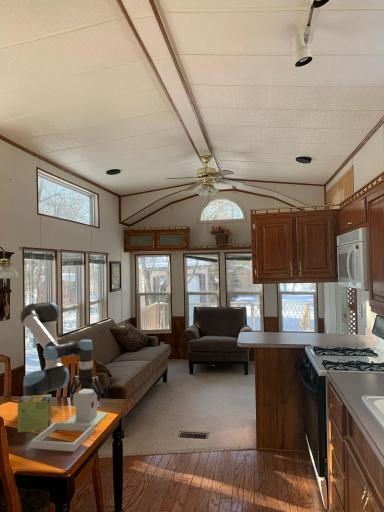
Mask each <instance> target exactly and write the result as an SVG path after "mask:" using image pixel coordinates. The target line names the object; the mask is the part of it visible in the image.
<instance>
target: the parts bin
mask: <svg viewBox="0 0 384 512" xmlns="http://www.w3.org/2000/svg"><path fill="white" fill-rule="evenodd" d="M95 428H96V427H95V425H94V424H79V423H65V422H61V421H55V422H54V423H53V424H52V423H51V425H50V427H48V428H47V429H46V430H42V432H41V433H40V434H38V435H37V436H35V437H34V438H32V440H30V444H31V445H30V448H31V449H35V450H36V449H37V450H38V449H39V450H50V451H60V452H61V451H62V452H73V453H74V452H76V450H78V449H79V447H80V446H82V444H83V443H84V442H86V440H88V438H90V437H91V436H92V435H93V434H94V432H95ZM56 431H72V432H82V434H81V435H80V436H79V437H77V439H76V440H75V441H74V442H66V441H52V440H45V439H47V438H48V437H49V436H51V433H52V434H53V433H54V432H56ZM46 437H47V438H46ZM42 440H43V441H42Z"/></svg>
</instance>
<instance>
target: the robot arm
mask: <svg viewBox="0 0 384 512" xmlns="http://www.w3.org/2000/svg"><path fill="white" fill-rule="evenodd" d="M60 315H61V312H60V308H59V306H58V305H57V304H56V303H55V302H52V301H50V302H49V301H48V302H38V303H29V304H26V306H24V307H23V308H22V310H21V312H20V316H19V319H20V322H21V324H22V325H23V327H25V328H27V329H28V330H29V331H30V332H31V334H32V335H33V337H34V338H35V339H36V341H37V342H38V343H39V344H40V346H41V347H42V348H43V350H42V351H43V352H42V356H43V358H44V360H45V367H44V369H43V370H42V369H40V370H34V371H31V372H28V373H27V374H25V376H23V385H22V386H23V396H35V395H46V393H48V392H52V391H56V390H60V389H63V388H65V387H67V386H68V384H69V381H70V371H69V369H68V368H67V367H65V364H63V363H62V362H61V359H62V358H68V357H73V356H77V357H78V375H79V376H78V375H75V376H73V380H72V383H71V384H70V387H69V389H68V391H67V393H68V394H71V401H72V406H73V407H76V393H77V391H78V390H79V388H80V387H81V386H89V387H90V389H93V390H94V392H95V393H96V394H97V395H96V408H97V409H98V407H100V401H101V395H103V394H104V393H105V392H104V389H103V387H102V384H101V382H100V380H99V376H95V377H94V376H93V374H94V370H93V369H94V368H93V365H94V363H93V359H94V358H93V357H94V356H93V353H94V346H93V341H92V340H91V339H86V338H85V339H80V340H79V341H76V340H69V341H68V342H66V343H58V335H57V328H56V324H57V322H58V319H59V318H60ZM77 381H79V382H78V383H77ZM76 383H77V385H76Z"/></svg>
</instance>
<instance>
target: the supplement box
mask: <svg viewBox="0 0 384 512" xmlns="http://www.w3.org/2000/svg"><path fill="white" fill-rule="evenodd" d="M75 393H76V405H75V414H76V421H88V422H90V421H91V420H93V419H94V418H95V417H96V416H97V412H98V407H97V408H96V395H97V394H96V393H95V392H94V390H93V389H92V388H82V389H81V390H78V392H75Z"/></svg>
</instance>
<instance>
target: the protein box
mask: <svg viewBox="0 0 384 512" xmlns="http://www.w3.org/2000/svg"><path fill="white" fill-rule="evenodd" d="M52 411H53V409H52V394H45V395H35V396H24V395H23V396H22V397H21V399H20V400H19V401H18V402H17V433H26V432H29V433H30V432H38V431H41V430H42V431H45V430H46V429H47V428H48V427H50V426H51V425H52V422H53V420H52V418H53V417H52Z"/></svg>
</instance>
